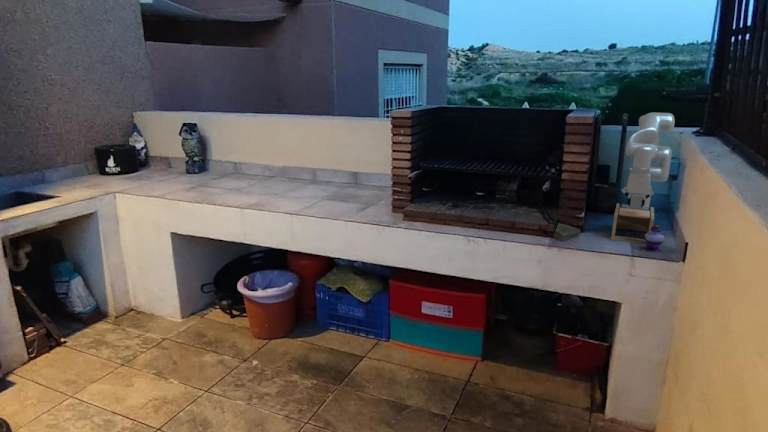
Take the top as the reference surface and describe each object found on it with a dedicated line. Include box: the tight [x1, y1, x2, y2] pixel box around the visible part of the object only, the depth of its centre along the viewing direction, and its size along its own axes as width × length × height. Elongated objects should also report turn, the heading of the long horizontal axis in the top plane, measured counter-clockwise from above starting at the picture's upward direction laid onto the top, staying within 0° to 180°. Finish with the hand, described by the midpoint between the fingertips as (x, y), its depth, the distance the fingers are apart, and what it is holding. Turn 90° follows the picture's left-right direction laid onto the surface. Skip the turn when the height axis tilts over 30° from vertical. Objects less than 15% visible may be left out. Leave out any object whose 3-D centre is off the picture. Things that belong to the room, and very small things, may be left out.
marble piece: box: [553, 222, 581, 242], centre depth 264 cm, size 17×15×4 cm
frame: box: [610, 203, 655, 245], centre depth 261 cm, size 25×18×14 cm
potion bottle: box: [644, 224, 665, 252], centre depth 242 cm, size 9×9×12 cm
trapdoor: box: [619, 203, 650, 219], centre depth 260 cm, size 18×14×4 cm
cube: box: [630, 195, 642, 209], centre depth 253 cm, size 5×5×5 cm
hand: (635, 205), depth 253 cm, fingers closed on cube, 5 cm apart
